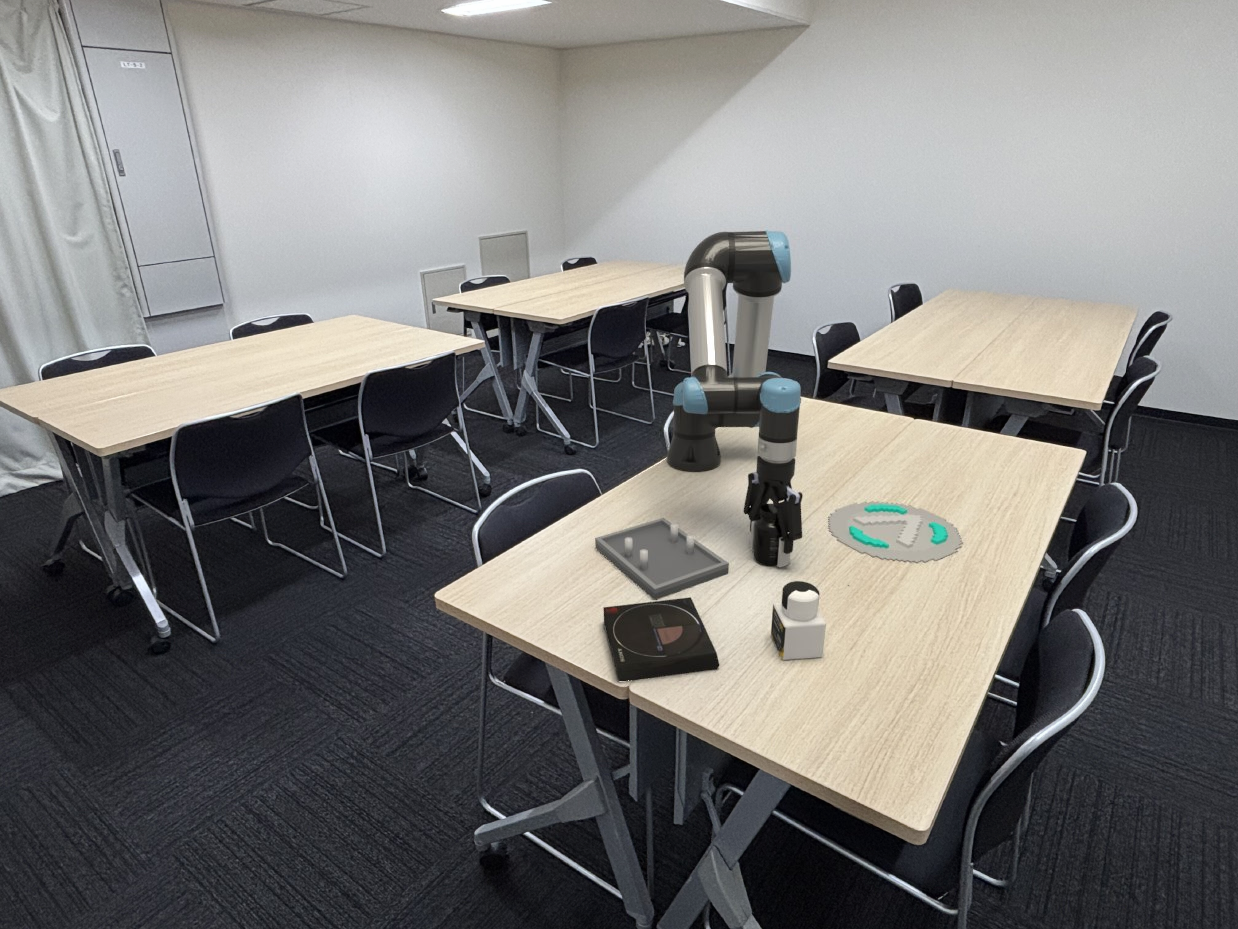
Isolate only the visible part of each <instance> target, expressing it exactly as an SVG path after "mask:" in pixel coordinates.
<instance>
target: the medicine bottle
mask: <svg viewBox="0 0 1238 929" xmlns="http://www.w3.org/2000/svg"><path fill="white" fill-rule="evenodd" d="M781 593H782V594H781V601H778V602H777V601H776V602H773V604H772V613H771V614H772V616H771V629H770V636H771V639H772V641H773V643H774V645H775V647H776V650H777V652H778V654H779V655H780V659H781V660H782V661H787V660H788V661H790V660H803V659H805V660H806V659H813V658H814V659H817V658H822V657H823V656H824V646H825V638H826V628H827V622H826V620H825V619H824V617H823V615H822V614H821V613H820V611H819V603H820V591H819V589H818V588H817V587H816V586H815V585H813V584H812V583H809V582H807V581H803V580H802V581H801V580H794V581H790V582H788V583H786V584H785V585H784V586H783V587H782V592H781Z"/></svg>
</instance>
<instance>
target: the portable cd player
mask: <svg viewBox="0 0 1238 929" xmlns="http://www.w3.org/2000/svg"><path fill="white" fill-rule="evenodd" d="M602 609H603V625H604V629H605V633H606V638H607V641H608V645H609V650H610V653H611V657H612V660H613V661H612V662H613V666H614V669H615V672H616V676H617V677H616V678H617V681H618V682H619V681H626V682H632V681H639V680H640V681H641V680H647V679H648V678H649V679H654V678H663V677H664V678H665V677H670V676H671V677H672V676H678V675H685V674H686V675H687V674H693V673H701V672H708V671H709V672H710V671H714V670H715V671H717V670H718V669H719V667H720V666H721V665H720V661H719V657H718V654H717V650H716V648H715V646H714V644H713V642H712V640H711V638H710V635H709V633H708V632H707V629H706V627H705V625H704V622H703V621H702V618H701V616H700V614H699V612H698V610H697V608H696V605H695V603H694V602H693V599H692V597H691V596H690V597H682V598H681V597H680V598H673V599H672V598H671V599H665V600H655V601H648V602H638V603H630V604H629V603H627V604H621V605H613V606H603V608H602ZM628 680H629V681H628ZM631 680H632V681H631Z"/></svg>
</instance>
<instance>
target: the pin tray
mask: <svg viewBox="0 0 1238 929" xmlns="http://www.w3.org/2000/svg"><path fill="white" fill-rule="evenodd" d="M594 543H595V545H594V546H595V549H596V550H597V551H598V552H599V553H601V554H602V556H604V557H605V558H606V559H608V561H610V562H611V563H612V564H613V565H614V566H615V567H617V569H619V570H620V571H621V572H622V573H624V574H625V576H627V577H628V578H629V579H630V580H631V581H632V582H633V583H635V584H636V585H637V586H638V587H639V588H640V589H641V590H643V592H645V593H646V594H647V595H649V596H650V597H651V598H652V599H653V601H654V600H655V601H658V600H660V599H662V598H664V597H668V596H670V595H673V594H677V593H679V592H681V591H685V590H687V589H690V588H693V587H695V586H697V585H701V584H704V583H707V582H709V581H713V580H715V579H717V578H720V577H723V576H726V575H728V574H729V568H730V564H729V562H728V561H727V560H725V559H724V558H722V557H721V556H720V555H718V554H716V553H715V552H714V551H713V550H711V549H709V548H708V547H706V546H705V545H703V543H701V542H699V541H698V540H697V539H696V538H695V535H694V534H692V533H691V534H690V533H689V534H688V533H686V532H685V531H684V530H682V529H680V528H679V525H678V523H675V522H673V523H672V522H670V521H669V520H668V519H666V518H664V517H661V518H657V519H654V520H651V521H650V520H649V521H648V522H645V523H641V524H637V525H634V526H631V527H627V528H624V529H621V530H618V531H617V530H616V531H614V532H611V533H607V534H604V535H601V536H598V537H595V538H594Z"/></svg>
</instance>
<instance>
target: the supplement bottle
mask: <svg viewBox="0 0 1238 929" xmlns="http://www.w3.org/2000/svg"><path fill="white" fill-rule="evenodd" d="M781 537H782V532H781V527H780V523H779V518H778V514H777V509H776V508H775V507H774V505H773V503H767V504H765V505H762V506H761V508H760V517H759V518H758V519H757V520H756V521H755V531H754V549H753V559H754V560H755V561H756V562H757V563H758V564H760V565H762V566H767V567H776V566H777V564H778V551H779V538H781ZM777 567H778V566H777Z"/></svg>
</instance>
